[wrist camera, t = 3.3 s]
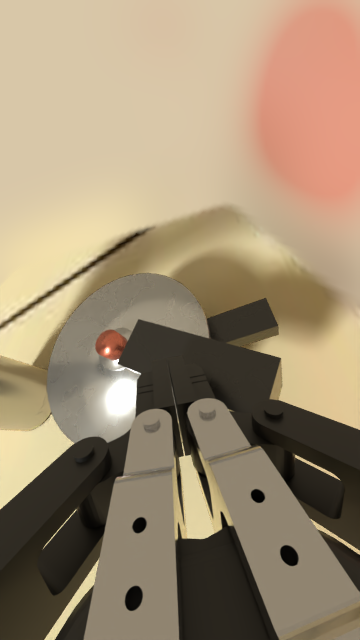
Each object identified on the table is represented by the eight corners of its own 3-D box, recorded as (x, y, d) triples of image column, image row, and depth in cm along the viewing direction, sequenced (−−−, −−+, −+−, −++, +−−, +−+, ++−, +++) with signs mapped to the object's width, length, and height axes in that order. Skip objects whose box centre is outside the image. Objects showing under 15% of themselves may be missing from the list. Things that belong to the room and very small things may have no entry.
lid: (25, 405, 25) (-56, 393, 19) (103, 268, 30) (57, 225, 24) (238, 550, 15) (205, 624, 9) (305, 302, 19) (314, 238, 13)
